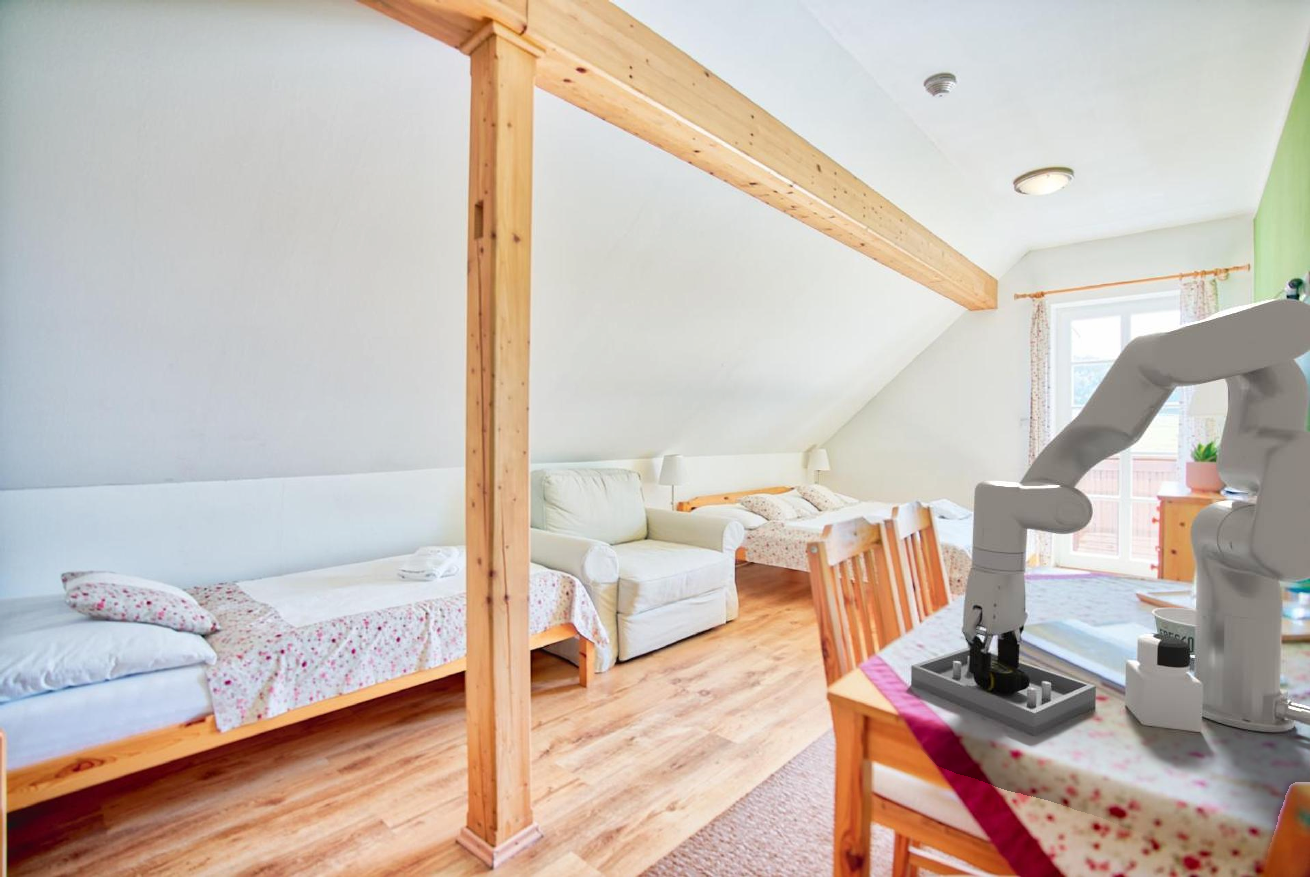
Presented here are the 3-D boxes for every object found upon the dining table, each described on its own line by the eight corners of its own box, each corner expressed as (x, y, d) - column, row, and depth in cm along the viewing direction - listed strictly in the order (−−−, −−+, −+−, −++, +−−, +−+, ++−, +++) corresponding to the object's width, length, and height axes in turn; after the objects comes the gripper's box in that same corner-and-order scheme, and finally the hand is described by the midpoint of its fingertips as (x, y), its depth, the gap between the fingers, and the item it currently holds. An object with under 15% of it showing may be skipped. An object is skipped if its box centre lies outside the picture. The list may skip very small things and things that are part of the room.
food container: (1243, 654, 120) (1244, 619, 119) (1221, 669, 113) (1222, 632, 113) (1164, 636, 130) (1165, 603, 129) (1140, 648, 123) (1141, 614, 123)
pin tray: (1095, 706, 99) (1095, 682, 99) (1034, 735, 90) (1034, 709, 90) (972, 663, 116) (973, 643, 116) (911, 684, 107) (911, 662, 107)
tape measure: (1032, 695, 100) (1032, 671, 100) (997, 701, 98) (997, 677, 98) (996, 678, 107) (996, 655, 107) (963, 683, 105) (963, 660, 104)
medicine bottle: (1180, 711, 97) (1182, 632, 97) (1202, 733, 90) (1205, 649, 90) (1124, 704, 99) (1125, 627, 99) (1142, 725, 93) (1143, 643, 92)
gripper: (1006, 549, 110) (1002, 652, 110) (942, 560, 101) (938, 672, 101) (1052, 558, 103) (1047, 668, 104) (989, 571, 94) (984, 691, 95)
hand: (993, 669), depth 103 cm, fingers open, 7 cm apart
